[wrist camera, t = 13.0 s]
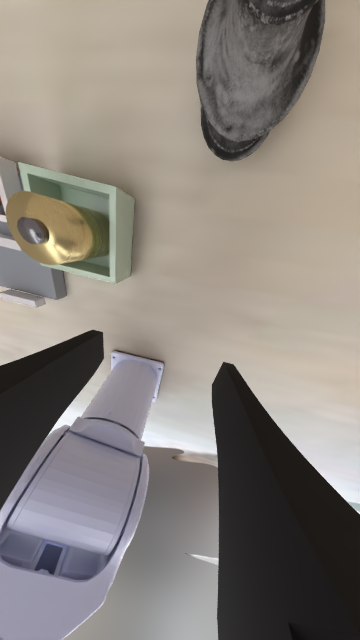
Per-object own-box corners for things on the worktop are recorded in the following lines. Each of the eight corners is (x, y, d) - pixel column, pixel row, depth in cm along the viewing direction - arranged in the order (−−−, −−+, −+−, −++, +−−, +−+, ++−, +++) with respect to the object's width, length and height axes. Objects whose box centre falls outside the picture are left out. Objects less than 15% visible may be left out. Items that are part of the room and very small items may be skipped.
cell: (114, 261, 16) (65, 274, 10) (76, 250, 16) (5, 256, 10) (116, 217, 14) (58, 200, 8) (74, 203, 14) (-17, 177, 8)
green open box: (130, 275, 17) (115, 283, 14) (69, 260, 17) (40, 265, 14) (134, 198, 14) (116, 186, 11) (58, 179, 14) (17, 161, 10)
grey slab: (67, 302, 19) (47, 311, 17) (14, 289, 19) (-14, 296, 17) (47, 173, 13) (12, 158, 11) (-30, 154, 13) (-84, 133, 11)
